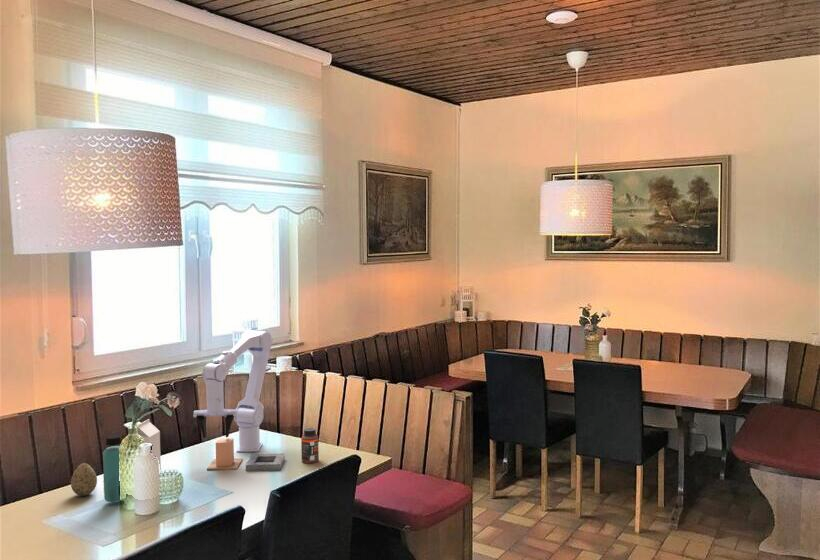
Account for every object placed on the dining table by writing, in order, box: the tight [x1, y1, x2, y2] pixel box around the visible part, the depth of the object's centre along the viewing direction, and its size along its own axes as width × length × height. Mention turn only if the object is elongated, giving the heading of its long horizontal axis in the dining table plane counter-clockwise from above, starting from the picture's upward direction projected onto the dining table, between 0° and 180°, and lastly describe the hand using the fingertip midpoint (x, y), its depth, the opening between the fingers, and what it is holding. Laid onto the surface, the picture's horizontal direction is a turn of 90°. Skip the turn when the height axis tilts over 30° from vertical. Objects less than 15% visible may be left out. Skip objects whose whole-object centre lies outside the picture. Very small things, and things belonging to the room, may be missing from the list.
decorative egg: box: [70, 462, 98, 497], centre depth 204 cm, size 7×7×10 cm
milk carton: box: [138, 418, 162, 471], centre depth 218 cm, size 7×7×19 cm
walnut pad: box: [206, 458, 244, 471], centre depth 231 cm, size 10×10×1 cm
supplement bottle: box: [300, 427, 320, 464], centre depth 235 cm, size 6×6×11 cm
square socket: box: [245, 453, 286, 472], centre depth 231 cm, size 12×12×2 cm
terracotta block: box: [215, 437, 235, 466], centre depth 231 cm, size 5×5×8 cm
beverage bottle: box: [102, 434, 122, 503], centre depth 198 cm, size 6×7×20 cm
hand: (216, 436), depth 233 cm, fingers open, 7 cm apart
